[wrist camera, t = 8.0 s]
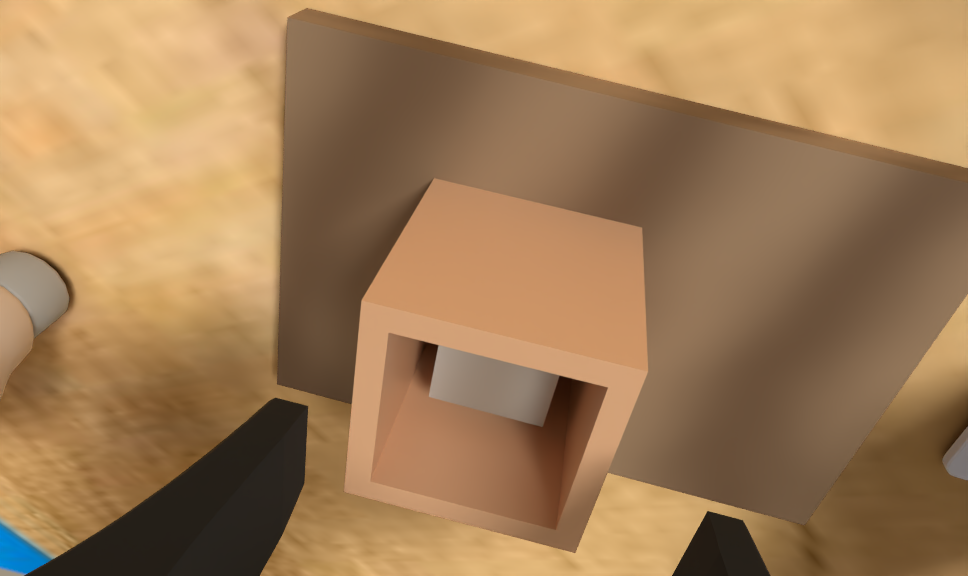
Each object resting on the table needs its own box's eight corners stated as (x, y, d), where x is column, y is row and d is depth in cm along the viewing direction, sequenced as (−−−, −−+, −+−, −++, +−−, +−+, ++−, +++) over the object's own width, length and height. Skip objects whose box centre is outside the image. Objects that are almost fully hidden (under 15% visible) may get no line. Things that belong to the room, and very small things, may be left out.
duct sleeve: (642, 227, 18) (648, 371, 13) (587, 386, 21) (575, 552, 16) (434, 177, 18) (361, 300, 13) (410, 342, 21) (343, 491, 16)
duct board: (1009, 178, 17) (1126, 276, 13) (797, 496, 24) (831, 625, 20) (306, 8, 18) (215, 52, 14) (291, 362, 24) (227, 460, 20)
